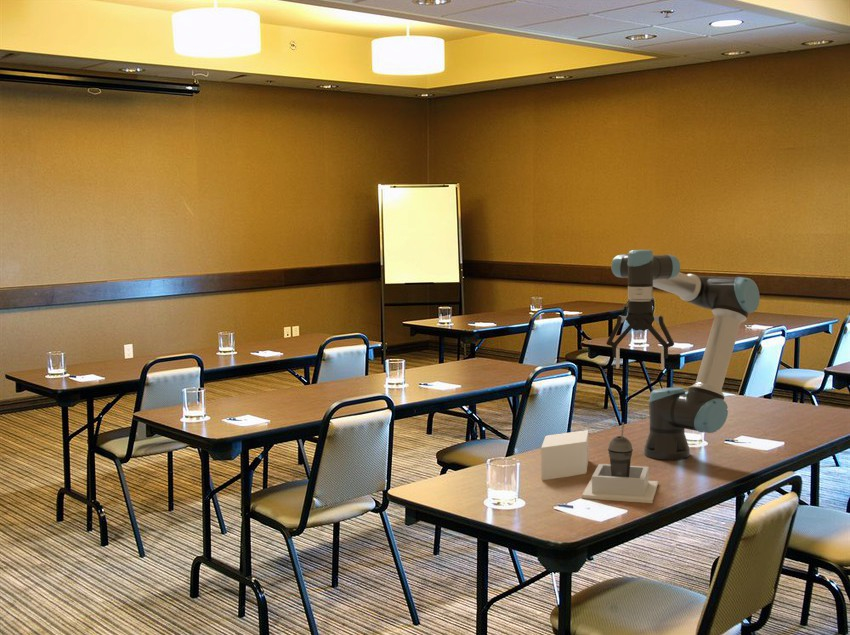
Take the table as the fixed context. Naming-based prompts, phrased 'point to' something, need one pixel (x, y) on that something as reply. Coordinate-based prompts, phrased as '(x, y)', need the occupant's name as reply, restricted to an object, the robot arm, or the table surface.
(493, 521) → the table surface
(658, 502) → the table surface
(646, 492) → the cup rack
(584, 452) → the block
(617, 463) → the beverage cup
